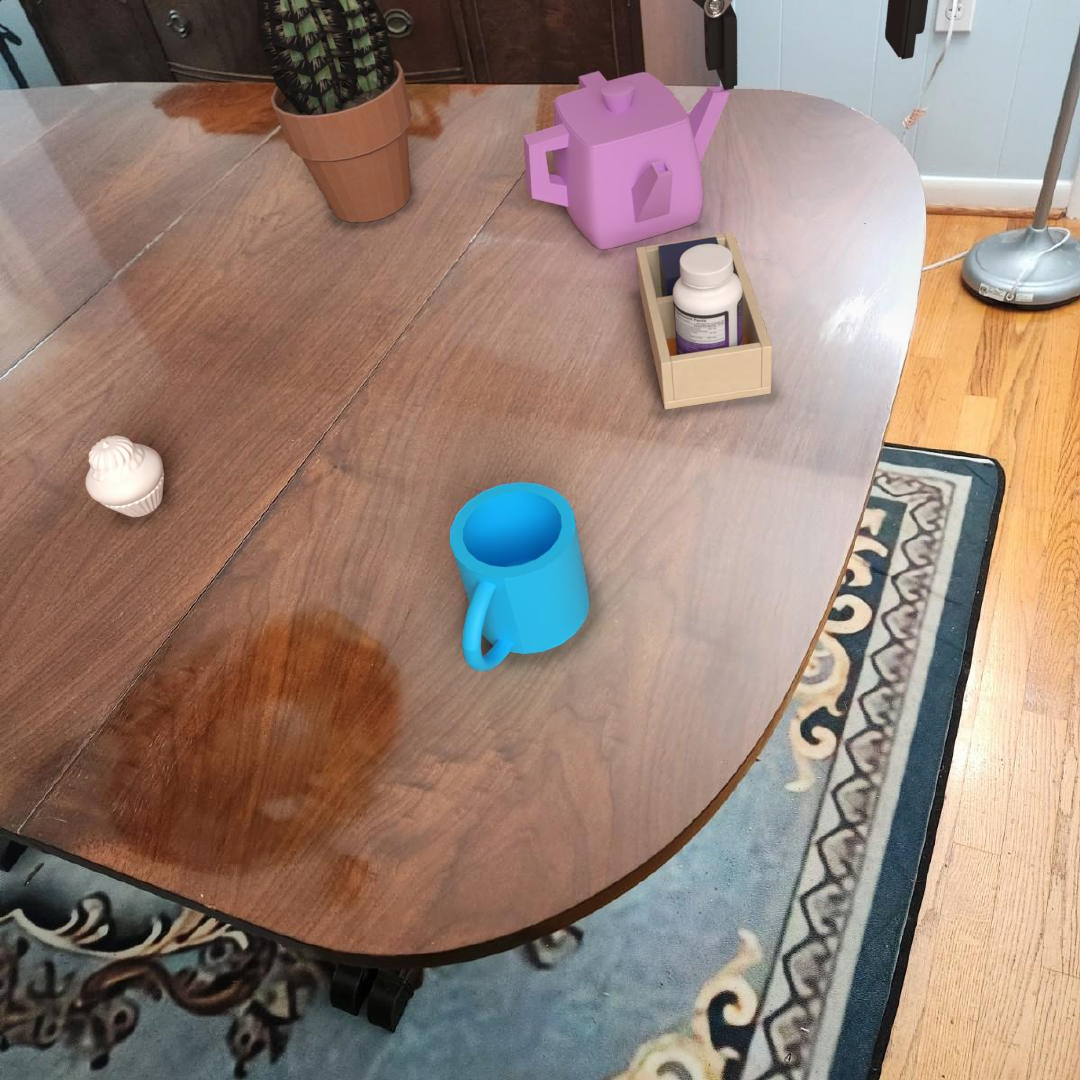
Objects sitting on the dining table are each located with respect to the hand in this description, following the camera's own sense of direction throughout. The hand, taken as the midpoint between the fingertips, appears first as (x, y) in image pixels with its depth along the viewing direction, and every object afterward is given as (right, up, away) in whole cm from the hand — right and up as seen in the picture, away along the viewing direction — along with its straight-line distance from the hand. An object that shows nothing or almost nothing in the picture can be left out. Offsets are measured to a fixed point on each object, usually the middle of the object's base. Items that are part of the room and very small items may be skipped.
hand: (811, 64), depth 57 cm
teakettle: (-6, +7, +46) cm, 47 cm away
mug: (-17, -33, +13) cm, 39 cm away
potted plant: (-34, +10, +55) cm, 65 cm away
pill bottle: (-1, -12, +27) cm, 29 cm away
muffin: (-48, -24, +27) cm, 60 cm away
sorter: (-1, -10, +30) cm, 32 cm away
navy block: (-2, -6, +32) cm, 33 cm away
